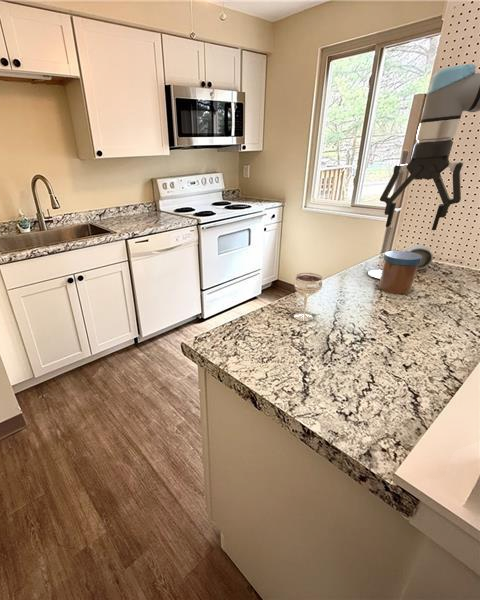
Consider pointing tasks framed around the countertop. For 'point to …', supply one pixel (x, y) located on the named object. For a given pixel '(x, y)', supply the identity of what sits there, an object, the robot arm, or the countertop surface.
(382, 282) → the jam jar
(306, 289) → the wineglass
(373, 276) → the coaster
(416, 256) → the jar lid
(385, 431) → the countertop surface
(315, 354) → the countertop surface
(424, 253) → the ceramic mug
